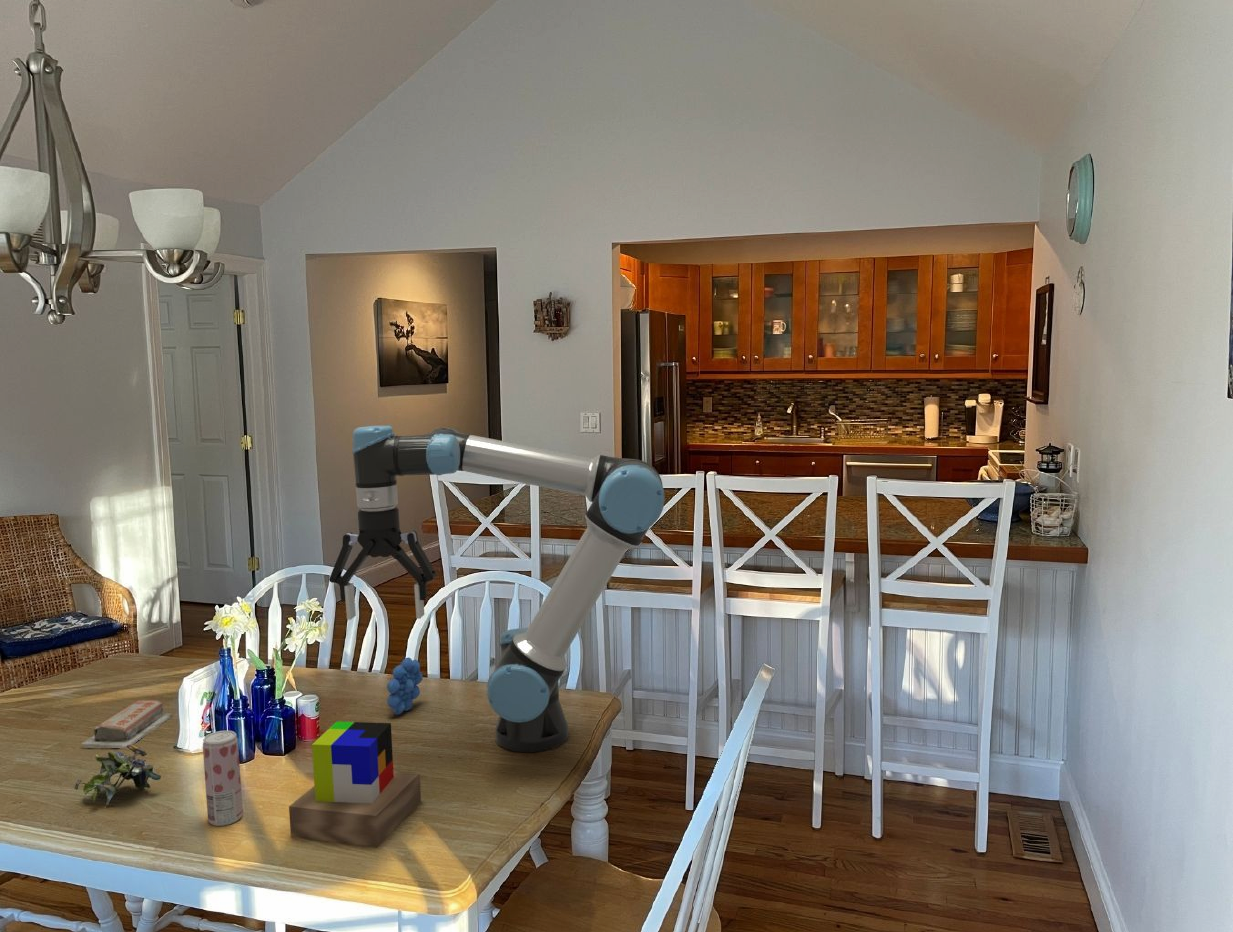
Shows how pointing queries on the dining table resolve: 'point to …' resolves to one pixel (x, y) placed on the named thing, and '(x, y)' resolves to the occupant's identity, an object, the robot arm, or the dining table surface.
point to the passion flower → (120, 765)
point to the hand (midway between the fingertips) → (385, 617)
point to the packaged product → (128, 725)
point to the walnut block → (356, 814)
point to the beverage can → (222, 778)
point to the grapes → (404, 685)
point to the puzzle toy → (353, 762)
